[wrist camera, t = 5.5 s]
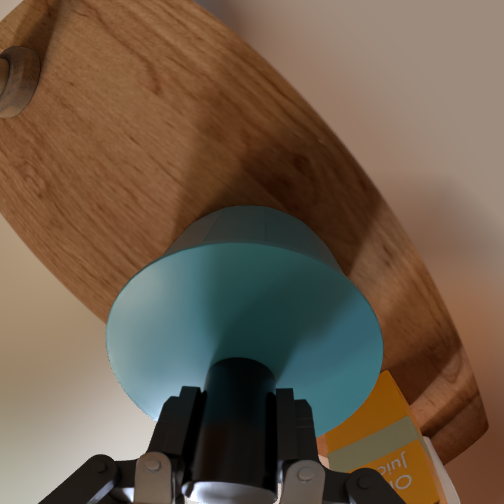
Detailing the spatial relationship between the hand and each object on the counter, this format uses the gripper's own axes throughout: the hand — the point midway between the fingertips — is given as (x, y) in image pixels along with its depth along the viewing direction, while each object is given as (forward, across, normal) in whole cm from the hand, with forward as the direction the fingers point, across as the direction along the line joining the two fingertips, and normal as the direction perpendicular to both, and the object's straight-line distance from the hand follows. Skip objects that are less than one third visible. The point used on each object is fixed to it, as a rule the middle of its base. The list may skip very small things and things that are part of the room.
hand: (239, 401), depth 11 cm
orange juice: (+10, +12, -14) cm, 21 cm away
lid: (+2, 0, 0) cm, 2 cm away
